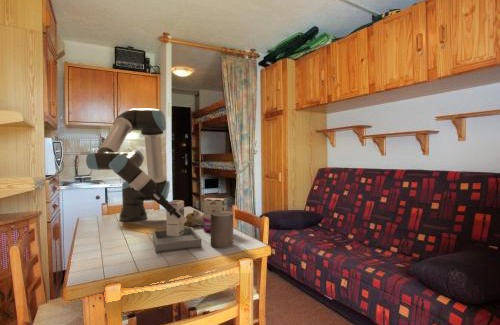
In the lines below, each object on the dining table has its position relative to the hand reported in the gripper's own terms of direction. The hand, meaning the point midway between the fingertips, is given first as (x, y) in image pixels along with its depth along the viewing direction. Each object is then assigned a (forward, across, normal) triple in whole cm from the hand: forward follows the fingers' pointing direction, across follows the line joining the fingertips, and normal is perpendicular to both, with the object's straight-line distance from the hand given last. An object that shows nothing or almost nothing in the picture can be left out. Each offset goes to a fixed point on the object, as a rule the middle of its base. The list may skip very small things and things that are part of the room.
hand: (183, 219), depth 123 cm
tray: (+5, 0, -9) cm, 11 cm away
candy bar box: (+20, -11, +5) cm, 23 cm away
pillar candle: (+18, +10, +3) cm, 20 cm away
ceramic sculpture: (+14, -26, 0) cm, 30 cm away
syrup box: (+2, 0, -7) cm, 7 cm away
